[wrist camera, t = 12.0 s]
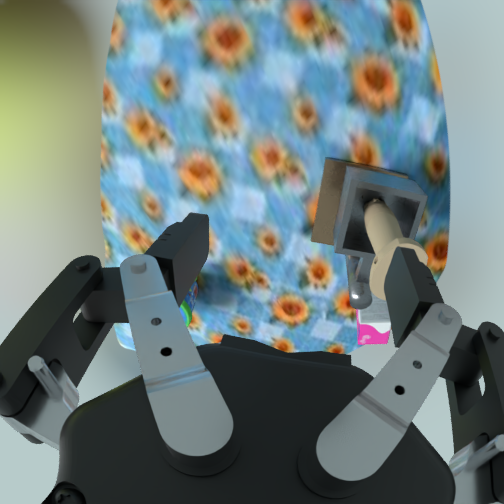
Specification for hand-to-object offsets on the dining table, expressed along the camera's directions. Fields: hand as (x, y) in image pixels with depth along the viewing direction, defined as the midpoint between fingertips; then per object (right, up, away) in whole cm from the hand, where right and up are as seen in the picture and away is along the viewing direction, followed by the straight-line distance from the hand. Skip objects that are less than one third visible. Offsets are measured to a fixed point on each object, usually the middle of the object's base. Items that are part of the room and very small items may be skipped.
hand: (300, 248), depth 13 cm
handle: (+14, +6, +26) cm, 30 cm away
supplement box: (+22, -8, +46) cm, 51 cm away
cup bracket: (+16, +8, +36) cm, 41 cm away
